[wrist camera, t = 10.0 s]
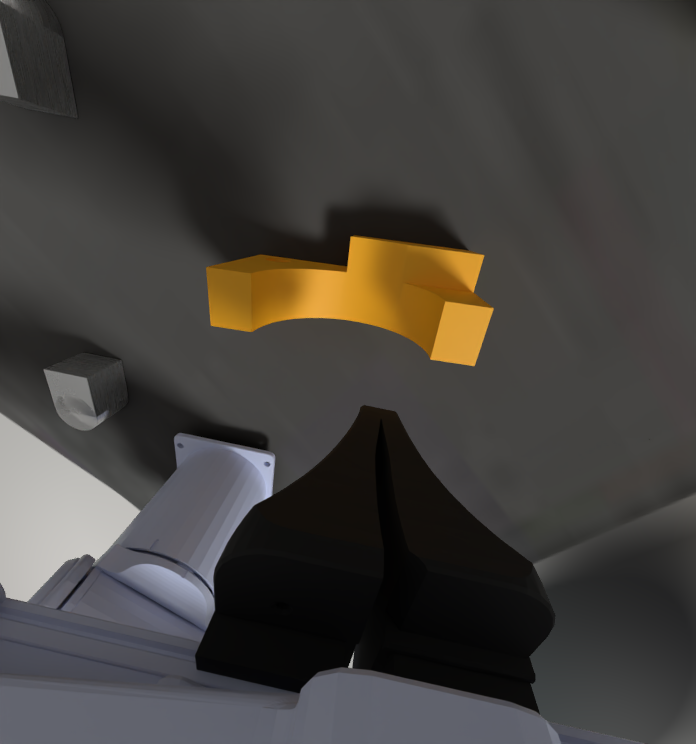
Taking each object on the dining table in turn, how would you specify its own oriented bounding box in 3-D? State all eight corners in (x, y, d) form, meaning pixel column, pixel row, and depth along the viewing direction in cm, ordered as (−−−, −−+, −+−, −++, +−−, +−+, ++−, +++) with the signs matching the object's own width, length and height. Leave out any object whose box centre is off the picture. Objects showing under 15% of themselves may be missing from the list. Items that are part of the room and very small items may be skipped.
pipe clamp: (467, 250, 17) (508, 262, 12) (448, 323, 19) (474, 366, 14) (261, 222, 18) (202, 221, 12) (262, 296, 20) (211, 325, 14)
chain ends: (131, 411, 25) (100, 434, 22) (95, 404, 25) (61, 425, 23) (55, -6, 14) (-20, -59, 12) (-5, -17, 15) (-94, -71, 12)
